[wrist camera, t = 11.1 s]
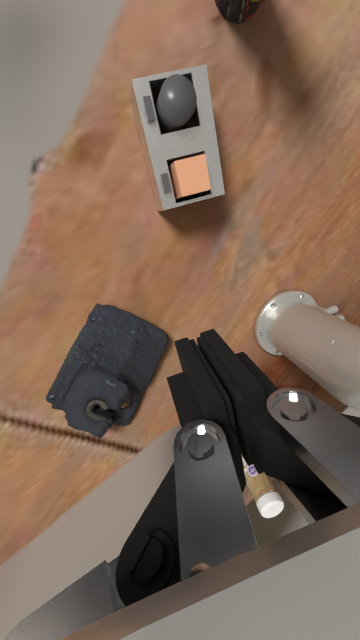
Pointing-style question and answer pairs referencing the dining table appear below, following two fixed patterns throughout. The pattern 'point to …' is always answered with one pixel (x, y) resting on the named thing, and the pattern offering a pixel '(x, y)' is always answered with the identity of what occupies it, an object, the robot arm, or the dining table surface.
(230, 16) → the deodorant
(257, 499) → the sprinkles bottle
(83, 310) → the dining table surface
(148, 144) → the mount
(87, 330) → the dark slate chunk
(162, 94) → the knob round
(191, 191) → the button square
